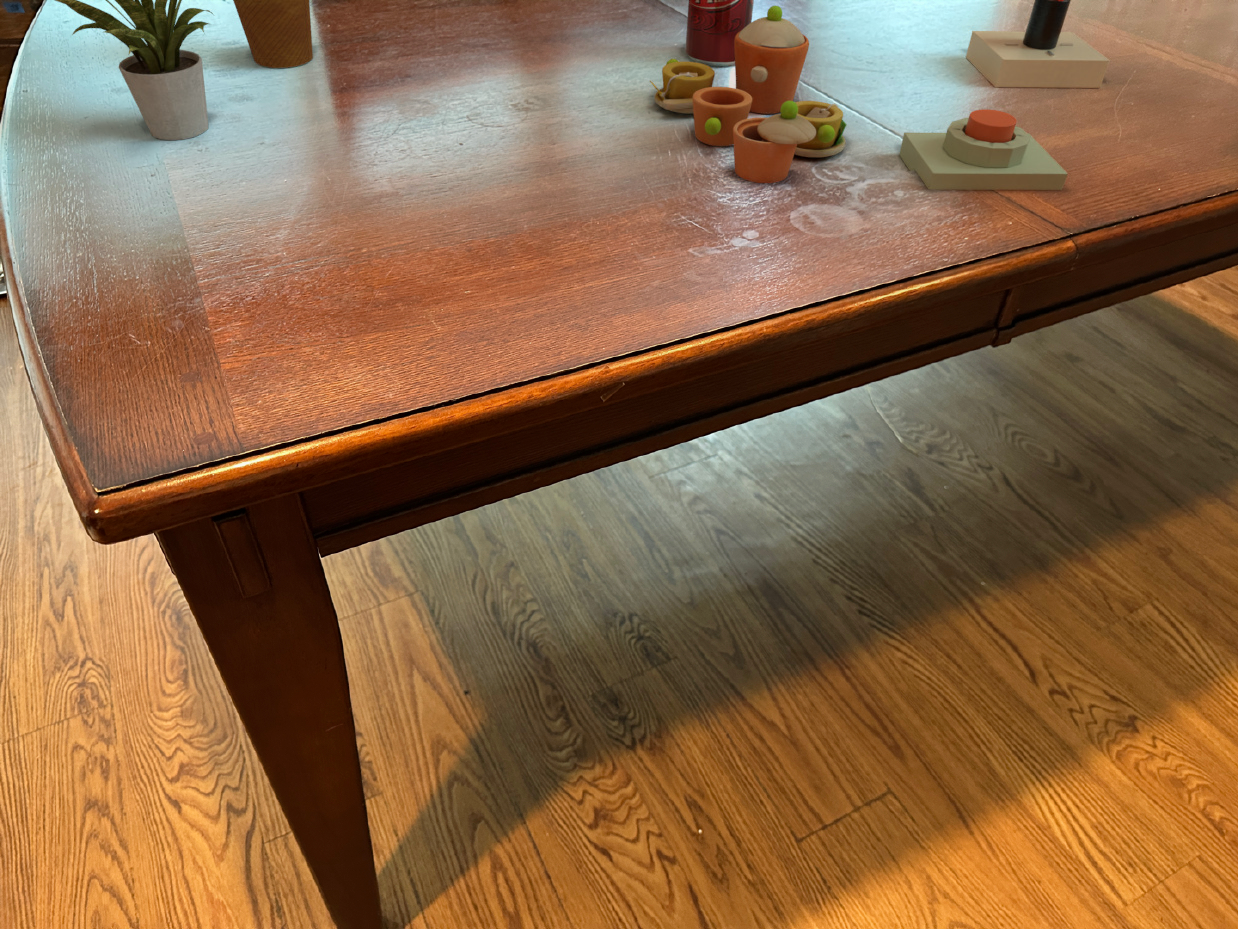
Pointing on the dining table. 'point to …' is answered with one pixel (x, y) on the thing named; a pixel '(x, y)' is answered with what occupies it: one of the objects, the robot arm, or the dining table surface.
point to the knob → (1045, 23)
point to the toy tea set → (757, 102)
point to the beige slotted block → (1036, 61)
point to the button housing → (980, 161)
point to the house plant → (158, 63)
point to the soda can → (715, 29)
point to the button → (990, 126)
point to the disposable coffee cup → (277, 31)
